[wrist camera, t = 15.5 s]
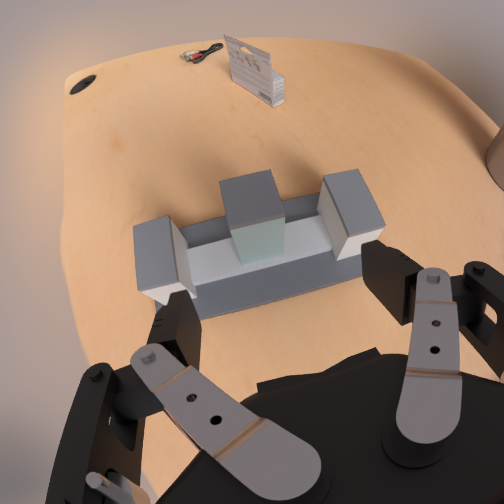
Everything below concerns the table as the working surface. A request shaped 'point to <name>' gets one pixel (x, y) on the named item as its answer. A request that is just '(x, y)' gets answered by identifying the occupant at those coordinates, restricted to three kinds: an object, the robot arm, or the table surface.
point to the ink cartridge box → (255, 72)
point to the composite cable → (201, 53)
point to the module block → (254, 216)
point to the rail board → (267, 271)
